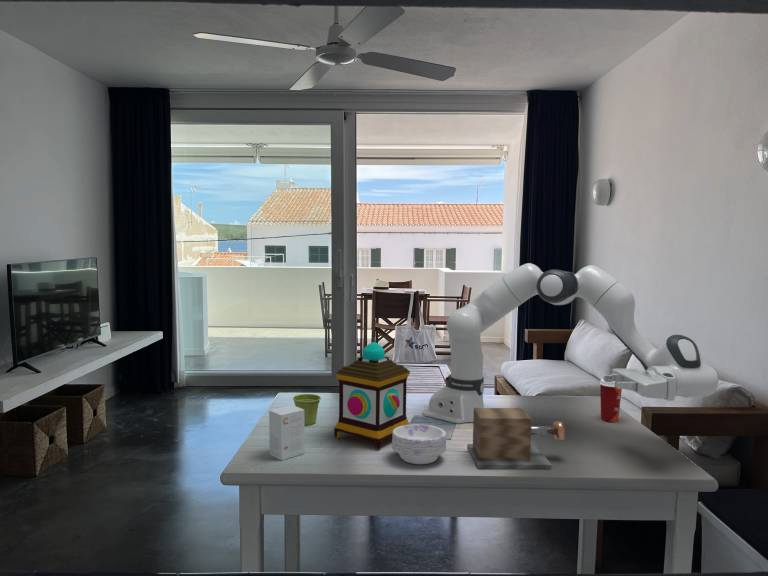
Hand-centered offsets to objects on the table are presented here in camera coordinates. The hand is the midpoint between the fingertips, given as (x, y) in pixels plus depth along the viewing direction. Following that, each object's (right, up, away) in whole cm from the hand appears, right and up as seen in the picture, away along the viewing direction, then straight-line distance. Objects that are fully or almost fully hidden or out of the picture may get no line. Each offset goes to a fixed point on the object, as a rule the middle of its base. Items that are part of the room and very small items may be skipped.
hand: (610, 381), depth 158 cm
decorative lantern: (-68, -20, +17) cm, 73 cm away
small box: (-92, -21, +2) cm, 94 cm away
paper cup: (+15, -20, +37) cm, 45 cm away
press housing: (-29, -22, +1) cm, 36 cm away
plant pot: (-90, -19, +30) cm, 97 cm away
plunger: (-22, -16, +1) cm, 27 cm away
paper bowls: (-54, -22, 0) cm, 58 cm away
